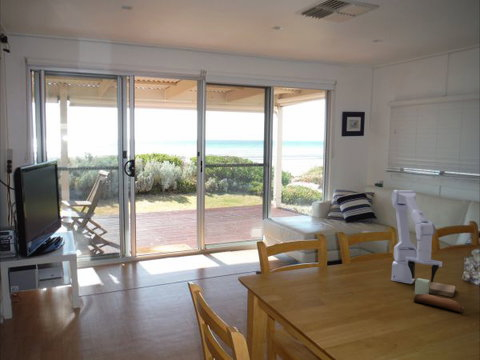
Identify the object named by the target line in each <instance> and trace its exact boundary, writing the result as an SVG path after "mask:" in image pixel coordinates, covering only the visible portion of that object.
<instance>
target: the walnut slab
mask: <svg viewBox="0 0 480 360" xmlns="http://www.w3.org/2000/svg"><path fill="white" fill-rule="evenodd" d="M429 293H430V294H435V295H439V296H446V297H450V298H453V297H454V295H455V293H456V286H455V285H451V284H445V283H440V282H434V281H433V282H431V281H430V282H429Z"/></svg>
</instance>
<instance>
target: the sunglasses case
mask: <svg viewBox="0 0 480 360" xmlns="http://www.w3.org/2000/svg"><path fill="white" fill-rule="evenodd" d="M413 302H414V303H419V304H426V305H430V306H434V307H438V308H443V309H446V310H450V311H453V312H456V313H457V312H458V313H460V314H462V313H463V311H464V309H465V307H464V306H462V305H461V304H460V303H459V302H458V301H456V300H454V299H450V298H443V297H442V296H436V295H432V294H417V295H416V294H414V298H413Z"/></svg>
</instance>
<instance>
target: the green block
mask: <svg viewBox="0 0 480 360" xmlns="http://www.w3.org/2000/svg"><path fill="white" fill-rule="evenodd" d="M414 281H415V282H414V283H415V285H414V295H417V294H429V285H430V279H425V278H420V277H418V278H416V279H415V280H414ZM429 295H430V294H429Z"/></svg>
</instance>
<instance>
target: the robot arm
mask: <svg viewBox="0 0 480 360" xmlns="http://www.w3.org/2000/svg"><path fill="white" fill-rule="evenodd" d="M416 199H417V193H416V191H415V190H414V189H409V190H408V189H394V190H392V193H391V205H392V208H394V209H395V215H396V223H397V224H396V225H397V233H398V243H397V244H395V245H394V247H393V259H394V260H393V261H392V264H391V278H390V280H391V281H392V282H393V281H394V282H399V283H405V284H409V285H410V284H413V283H414V281H416V279H415V278H416V273H415V271H416V264H421V265H426V266H427V265H429V266H431V277H430V283H431V282H434V279H435V275H436V274H437V272H438V270H439V268H442V267H443V261H439V260H435V259H432V247H433V246H432V245H433V244H432V241H433V236H434V235H435V233H436V225H435V224H434V223H433V222H432V221H430V220H429V219H428V218H427V216H426V215H425V212H424V211H423V210H421V209H419V206H418V204H417V201H416ZM408 210H409V211H410V213H411V214H410V218H411V220H412V223H414V226H415V233H416V234H415V235H416V240H417V245H415V244H414V243H412V242H411V237H410V228H409V220H408V213H407V212H408Z"/></svg>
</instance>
